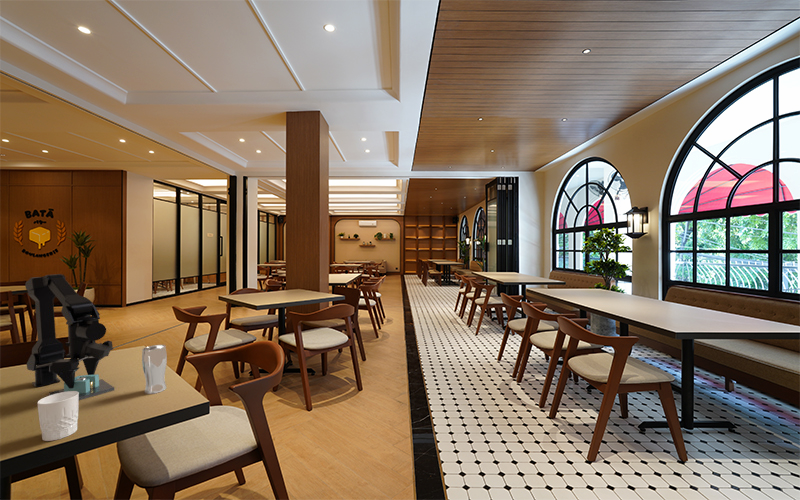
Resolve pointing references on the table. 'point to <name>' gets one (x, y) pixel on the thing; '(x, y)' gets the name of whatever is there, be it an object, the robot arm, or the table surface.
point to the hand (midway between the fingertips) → (81, 382)
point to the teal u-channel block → (83, 384)
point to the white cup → (58, 415)
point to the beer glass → (154, 368)
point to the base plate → (91, 389)
